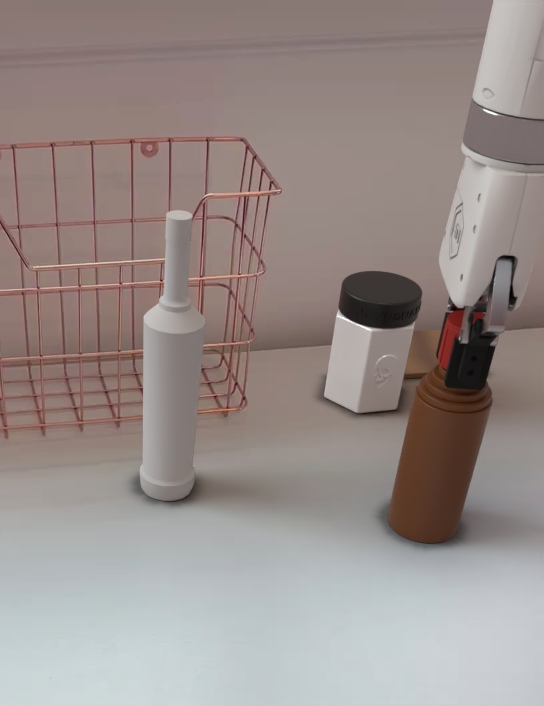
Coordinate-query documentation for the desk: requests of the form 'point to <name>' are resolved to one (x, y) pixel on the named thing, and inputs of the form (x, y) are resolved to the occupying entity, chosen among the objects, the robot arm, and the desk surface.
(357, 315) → the jar
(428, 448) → the bottle
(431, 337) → the coaster
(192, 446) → the bottle
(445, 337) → the cap
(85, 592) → the desk surface
